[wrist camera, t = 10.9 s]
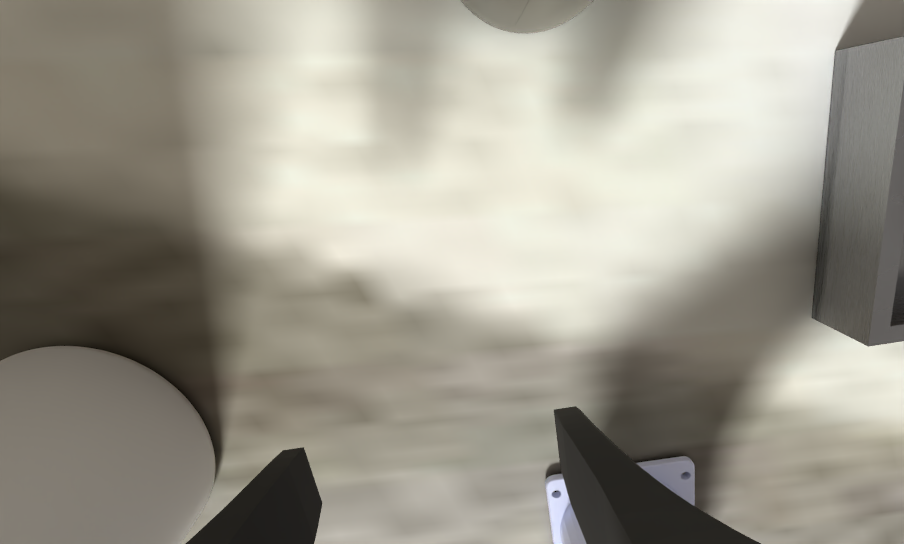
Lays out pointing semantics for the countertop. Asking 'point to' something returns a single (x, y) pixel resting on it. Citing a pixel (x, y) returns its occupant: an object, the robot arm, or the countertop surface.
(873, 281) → the square metal tray
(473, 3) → the supplement bottle
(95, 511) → the cylinder vase
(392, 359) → the countertop surface
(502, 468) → the countertop surface
